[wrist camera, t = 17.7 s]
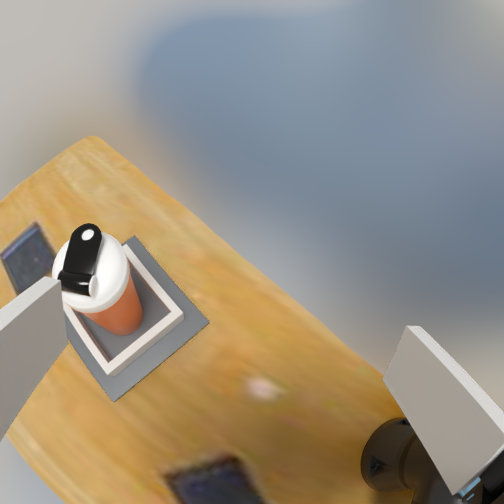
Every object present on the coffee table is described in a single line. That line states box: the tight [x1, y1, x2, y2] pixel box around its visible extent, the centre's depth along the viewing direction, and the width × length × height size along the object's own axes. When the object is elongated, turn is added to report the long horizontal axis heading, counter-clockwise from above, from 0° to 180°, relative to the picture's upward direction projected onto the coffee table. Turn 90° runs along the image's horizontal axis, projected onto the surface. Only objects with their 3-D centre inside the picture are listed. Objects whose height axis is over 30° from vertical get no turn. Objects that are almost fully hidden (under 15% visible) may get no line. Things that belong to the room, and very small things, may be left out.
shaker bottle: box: [52, 223, 143, 336], centre depth 33 cm, size 9×9×20 cm
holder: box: [62, 235, 209, 402], centre depth 40 cm, size 20×20×5 cm
